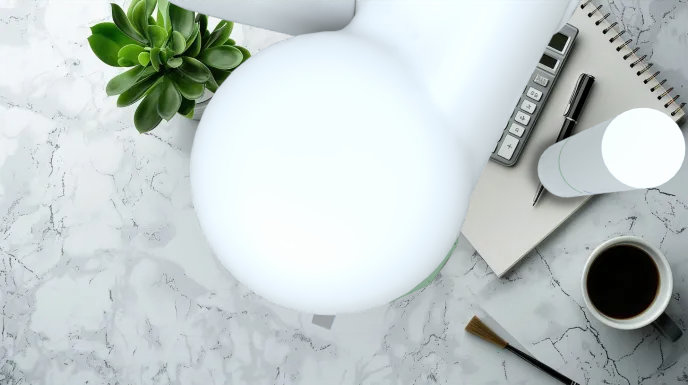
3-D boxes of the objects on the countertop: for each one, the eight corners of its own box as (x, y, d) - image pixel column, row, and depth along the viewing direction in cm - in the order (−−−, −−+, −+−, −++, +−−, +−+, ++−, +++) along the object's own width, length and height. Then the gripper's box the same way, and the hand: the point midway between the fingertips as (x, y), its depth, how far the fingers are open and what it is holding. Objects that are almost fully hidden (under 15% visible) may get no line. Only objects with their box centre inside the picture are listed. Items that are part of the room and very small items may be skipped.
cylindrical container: (588, 201, 79) (678, 194, 54) (532, 192, 79) (595, 180, 54) (597, 147, 79) (691, 114, 54) (541, 138, 80) (608, 101, 55)
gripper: (370, 409, 26) (380, 332, 44) (503, 29, 27) (460, 104, 44) (210, 348, 27) (283, 296, 45) (340, -22, 27) (361, 71, 45)
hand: (371, 200), depth 44 cm, fingers closed on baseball, 7 cm apart
